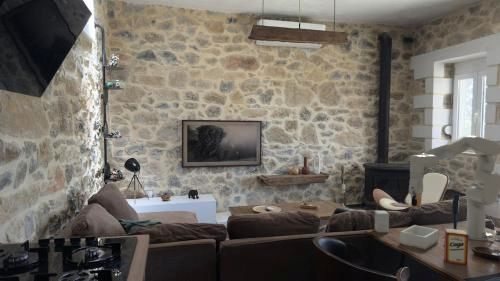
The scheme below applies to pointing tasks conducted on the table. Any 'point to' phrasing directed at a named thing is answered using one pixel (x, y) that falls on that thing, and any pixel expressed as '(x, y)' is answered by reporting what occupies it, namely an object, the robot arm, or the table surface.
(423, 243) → the tote
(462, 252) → the baking soda box
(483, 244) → the table surface
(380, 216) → the supplement box
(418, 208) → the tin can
